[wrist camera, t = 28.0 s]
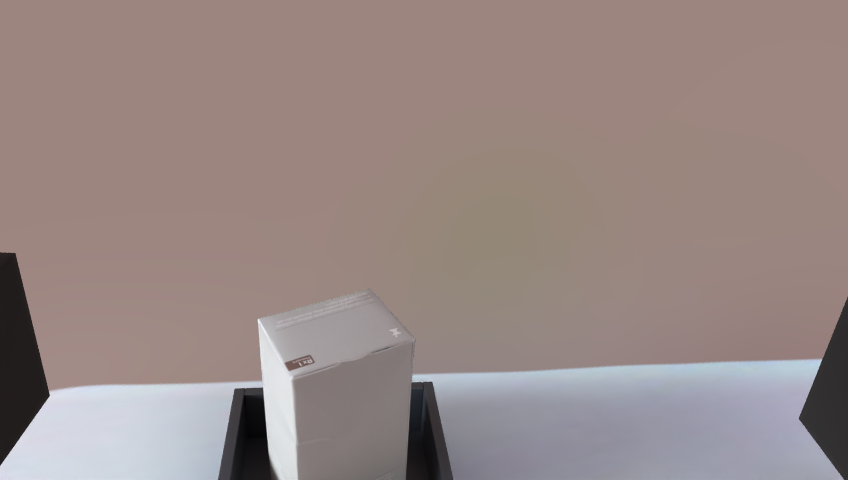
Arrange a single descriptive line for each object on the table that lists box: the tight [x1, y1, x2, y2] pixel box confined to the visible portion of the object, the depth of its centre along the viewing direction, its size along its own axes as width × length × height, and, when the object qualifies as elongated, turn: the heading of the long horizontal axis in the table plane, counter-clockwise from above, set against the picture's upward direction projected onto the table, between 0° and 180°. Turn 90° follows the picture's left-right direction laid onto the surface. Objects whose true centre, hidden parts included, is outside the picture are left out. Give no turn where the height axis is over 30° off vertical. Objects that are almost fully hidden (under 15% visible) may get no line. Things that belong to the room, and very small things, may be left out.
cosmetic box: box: [258, 289, 416, 480], centre depth 46 cm, size 8×7×16 cm
